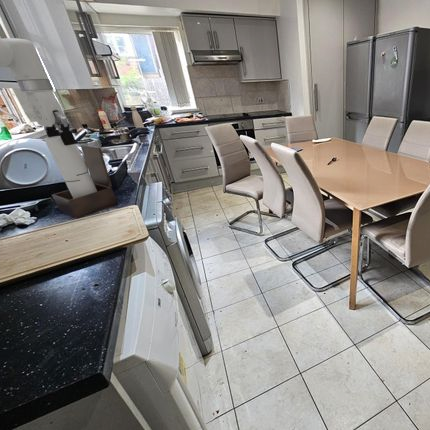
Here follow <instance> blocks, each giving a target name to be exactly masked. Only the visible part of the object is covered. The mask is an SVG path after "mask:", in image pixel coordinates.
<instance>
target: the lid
mask: <svg viewBox="0 0 430 430" xmlns="http://www.w3.org/2000/svg"><path fill="white" fill-rule="evenodd" d="M80 149H81V152H82V156H83V157H84V158H83V159H84V162H85V165H86V167H87V169H88V171H89V174H90V176H91V178H92V180H93V183H96V184H100V185H103V186H107V187H111V188H112V187H113V185H112V181H111V178H110V175H109V171H108V168H107V164H106V161H105V157H104V154H105V155H107V154H109V153H110V150H109V149H108V148H103V147H99V146H93V145H87V144H86V145H85V144H80Z"/></svg>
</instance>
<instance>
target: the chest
mask: <svg viewBox="0 0 430 430" xmlns="http://www.w3.org/2000/svg"><path fill="white" fill-rule="evenodd" d="M93 183H94V182H93ZM94 185H95V187H96V189H97V192H94V193H91V194H88V195H84V196H81V197H78V198H75V199H73V197H72V195H71V193H70V191H69V189H67V190H64V191H60V192H56V193H53V194H51V197H52V199H53V201H54V202H55V204H56V206H57V208H58V210H59V212H60V213H63V214H65V215H68V216H69V217H72V218H74V219H80V218H83V217H86V216H89V215H91V214H94V213H97V212H100V211H103V210H105V209H108V208H111V207H113V206H116V205H119V202H118V199H117V197H116V195H115V192H114V189H113V188H112V187H109V186H105V185H102V184H98V183H94Z"/></svg>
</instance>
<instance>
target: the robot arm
mask: <svg viewBox="0 0 430 430" xmlns="http://www.w3.org/2000/svg"><path fill="white" fill-rule="evenodd" d="M0 68H9V69H10V71H11V72H12V75H13V77H14V79H15V81H16V83H17V85H18V87H19V89H20V90H21V92H22V94H25V97H26V99H27V103H28V104H29V107H30V109H31V112H32V114H33V115H34V119H35V121H36V123H37V124H38V125H39V126H40V127H43V129H44V131H45V133H46V135H47V138H48V137H54V136H60V137H61V139H62V141H63V143H64V145H66V146H67V145H73V144H77V140H76V137H75V135H74V133H73V132H72V131H73V130H72V128H71V126H70V124H69V122H68V119H67V116H66V114H65V112H64V110H63V108H62V105H61V103H60V102H59V100H58V98H57V97H56V94H55V93H54V92H56V89H55V87H54V84H53V82H52V79H51V78H50V76H49V73H48V70H47V69H46V67H45V65H44V62H43V60H42V57H41V56H40V53H39V51H38V49H37V47H36V45H35V43H34V42H32V41H31V40H29V39H25V38H19V37H17V38H16V37H4V38H1V37H0Z"/></svg>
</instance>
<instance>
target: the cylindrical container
mask: <svg viewBox="0 0 430 430" xmlns="http://www.w3.org/2000/svg"><path fill="white" fill-rule="evenodd" d="M43 140H44V142H45V145H46V146H47V148H48V150H49V152H50V155H51V157H52V158H53V161H54V162H55V164H56V167H57V168H58V170H59V172H60V174H61V176H62V178H63V180H64V183H65V184H66V187H67V190H69V191H70V193H71V195H72V197H73V199H75V198H78V197H81V196H84V195H88V194H91V193H94V192H97V189H96V187H95V185H94V182H93V180H92V178H91V176H90V173H89V170H88V167H87V164H86V161H85V159H84V158H83V155H82V154H81V151H80V148H79V146H78V145H77V143H76V144H73V145H67V146H66V145H64V143H63V141H62V139H61V137H60V136H54V137H48V136H47V137H45V138H43Z"/></svg>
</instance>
